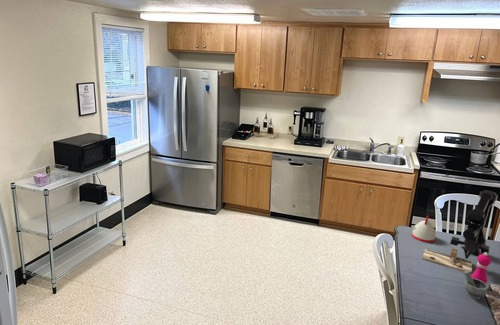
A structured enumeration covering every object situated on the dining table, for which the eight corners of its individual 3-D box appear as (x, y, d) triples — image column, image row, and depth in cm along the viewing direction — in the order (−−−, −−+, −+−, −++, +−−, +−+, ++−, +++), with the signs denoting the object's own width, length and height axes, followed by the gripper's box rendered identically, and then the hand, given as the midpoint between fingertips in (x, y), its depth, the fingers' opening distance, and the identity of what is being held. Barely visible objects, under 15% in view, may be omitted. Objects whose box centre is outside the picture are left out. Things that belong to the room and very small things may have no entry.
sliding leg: (450, 254, 216) (452, 247, 215) (456, 256, 215) (457, 249, 213) (448, 262, 207) (450, 255, 206) (454, 264, 206) (456, 256, 204)
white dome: (435, 236, 242) (440, 215, 238) (433, 244, 231) (437, 223, 227) (413, 230, 249) (417, 210, 245) (410, 238, 238) (414, 217, 234)
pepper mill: (487, 291, 185) (497, 257, 180) (472, 289, 187) (481, 255, 181) (482, 283, 192) (491, 250, 187) (467, 281, 194) (475, 248, 188)
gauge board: (425, 249, 224) (426, 246, 223) (472, 263, 211) (473, 260, 210) (422, 259, 214) (422, 255, 213) (470, 273, 201) (471, 270, 200)
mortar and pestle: (485, 294, 183) (491, 274, 180) (483, 304, 176) (489, 282, 172) (460, 286, 189) (465, 265, 186) (457, 294, 182) (462, 273, 179)
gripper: (452, 234, 202) (446, 259, 207) (491, 244, 193) (484, 270, 197) (454, 227, 211) (448, 251, 216) (491, 236, 202) (485, 261, 206)
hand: (466, 258), depth 209 cm, fingers closed
